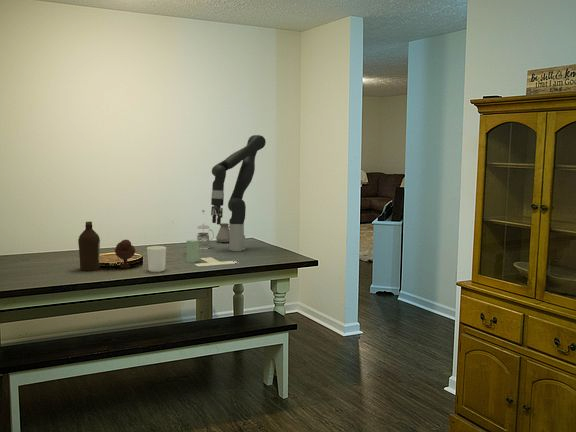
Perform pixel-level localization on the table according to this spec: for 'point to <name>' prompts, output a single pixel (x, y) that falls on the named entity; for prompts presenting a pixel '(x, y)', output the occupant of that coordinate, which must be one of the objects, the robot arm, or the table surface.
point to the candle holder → (156, 258)
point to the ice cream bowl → (125, 252)
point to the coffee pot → (223, 233)
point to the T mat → (213, 262)
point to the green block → (193, 251)
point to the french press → (204, 237)
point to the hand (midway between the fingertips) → (216, 223)
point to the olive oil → (89, 249)
